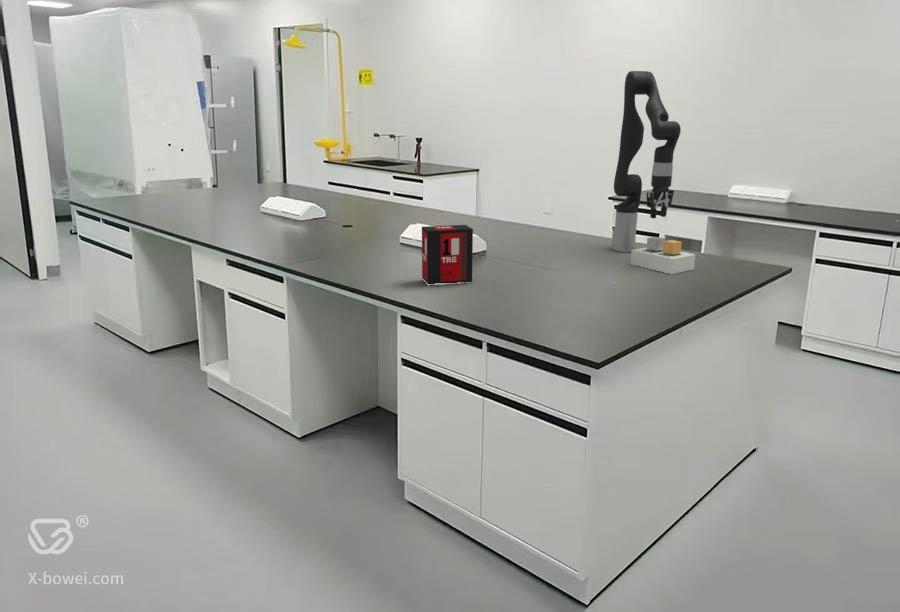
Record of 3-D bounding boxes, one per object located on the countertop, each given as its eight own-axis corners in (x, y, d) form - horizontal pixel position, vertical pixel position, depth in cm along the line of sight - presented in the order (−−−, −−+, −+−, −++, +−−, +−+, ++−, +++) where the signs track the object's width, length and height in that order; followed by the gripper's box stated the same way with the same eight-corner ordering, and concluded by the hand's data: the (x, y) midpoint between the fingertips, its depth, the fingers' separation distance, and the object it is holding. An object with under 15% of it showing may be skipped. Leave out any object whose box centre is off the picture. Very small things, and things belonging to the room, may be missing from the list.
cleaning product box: (465, 277, 256) (465, 224, 250) (472, 283, 248) (472, 228, 242) (422, 280, 252) (421, 226, 246) (427, 286, 244) (427, 231, 238)
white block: (646, 248, 275) (647, 237, 273) (654, 247, 277) (655, 236, 276) (656, 251, 271) (657, 239, 270) (663, 249, 274) (664, 238, 272)
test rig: (630, 264, 277) (631, 249, 275) (652, 260, 285) (654, 245, 283) (671, 274, 261) (673, 258, 259) (693, 269, 269) (695, 254, 267)
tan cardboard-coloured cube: (662, 252, 268) (663, 241, 267) (670, 251, 271) (671, 239, 270) (672, 254, 265) (673, 243, 263) (680, 253, 267) (681, 241, 266)
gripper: (665, 172, 272) (661, 214, 277) (642, 174, 264) (638, 217, 269) (681, 174, 267) (677, 217, 271) (658, 176, 259) (654, 220, 263)
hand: (658, 217), depth 270 cm, fingers open, 5 cm apart
